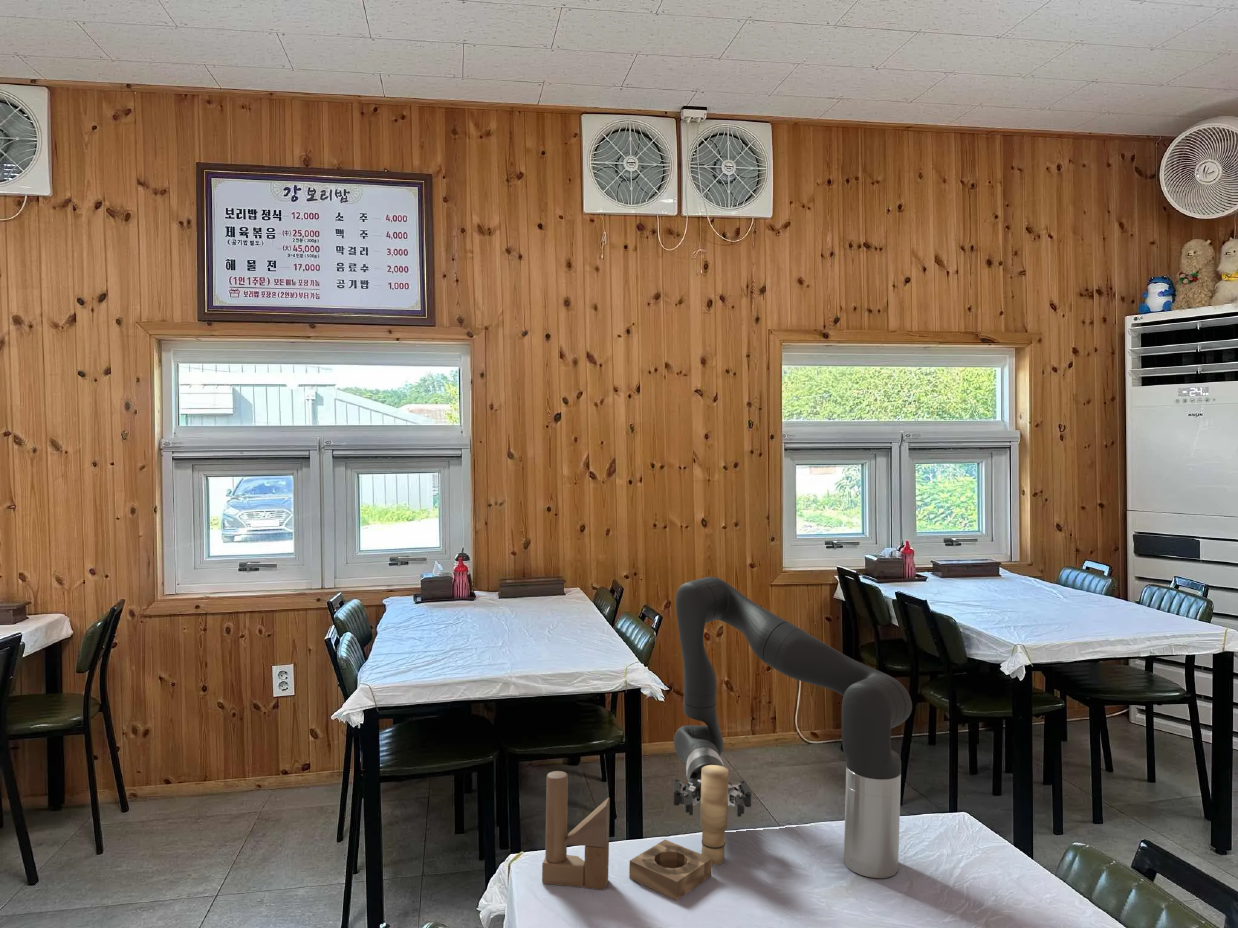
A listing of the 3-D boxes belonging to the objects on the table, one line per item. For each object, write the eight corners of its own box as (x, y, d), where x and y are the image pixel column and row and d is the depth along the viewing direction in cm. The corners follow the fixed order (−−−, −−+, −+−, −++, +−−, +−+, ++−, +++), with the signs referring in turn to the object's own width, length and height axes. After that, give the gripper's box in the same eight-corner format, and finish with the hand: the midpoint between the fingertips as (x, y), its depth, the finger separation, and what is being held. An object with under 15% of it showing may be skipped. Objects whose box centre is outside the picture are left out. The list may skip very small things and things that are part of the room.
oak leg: (709, 849, 150) (711, 762, 150) (731, 858, 147) (733, 769, 146) (694, 859, 146) (696, 770, 146) (716, 868, 143) (718, 778, 143)
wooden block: (604, 890, 136) (606, 783, 135) (541, 884, 137) (543, 777, 137) (608, 878, 139) (610, 774, 139) (546, 872, 141) (548, 769, 140)
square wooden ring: (664, 855, 147) (665, 839, 147) (711, 875, 141) (711, 858, 141) (629, 877, 140) (629, 860, 140) (676, 899, 133) (677, 881, 133)
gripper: (670, 753, 161) (675, 788, 144) (743, 755, 161) (756, 790, 144) (669, 791, 161) (674, 830, 145) (742, 792, 161) (755, 832, 145)
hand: (715, 810), depth 145 cm, fingers open, 8 cm apart
